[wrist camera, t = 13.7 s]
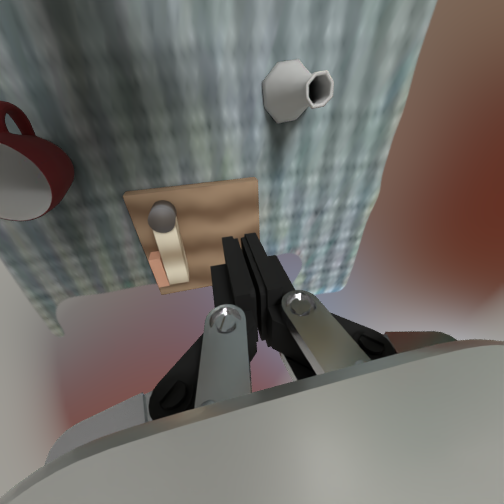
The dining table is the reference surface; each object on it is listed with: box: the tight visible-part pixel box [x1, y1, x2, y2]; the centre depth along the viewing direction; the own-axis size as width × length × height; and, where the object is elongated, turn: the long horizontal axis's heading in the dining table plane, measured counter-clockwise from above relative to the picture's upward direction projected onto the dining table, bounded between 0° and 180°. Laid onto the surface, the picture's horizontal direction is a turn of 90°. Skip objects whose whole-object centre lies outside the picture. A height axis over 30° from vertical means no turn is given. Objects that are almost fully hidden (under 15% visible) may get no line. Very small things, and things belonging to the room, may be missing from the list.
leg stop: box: [148, 251, 170, 287], centre depth 38 cm, size 6×2×2 cm, turn 3°
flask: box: [262, 59, 334, 124], centre depth 27 cm, size 7×7×10 cm
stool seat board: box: [123, 177, 260, 295], centre depth 40 cm, size 20×20×2 cm
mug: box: [0, 101, 74, 221], centre depth 24 cm, size 10×8×10 cm
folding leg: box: [148, 200, 189, 285], centre depth 35 cm, size 14×4×4 cm, turn 1°
